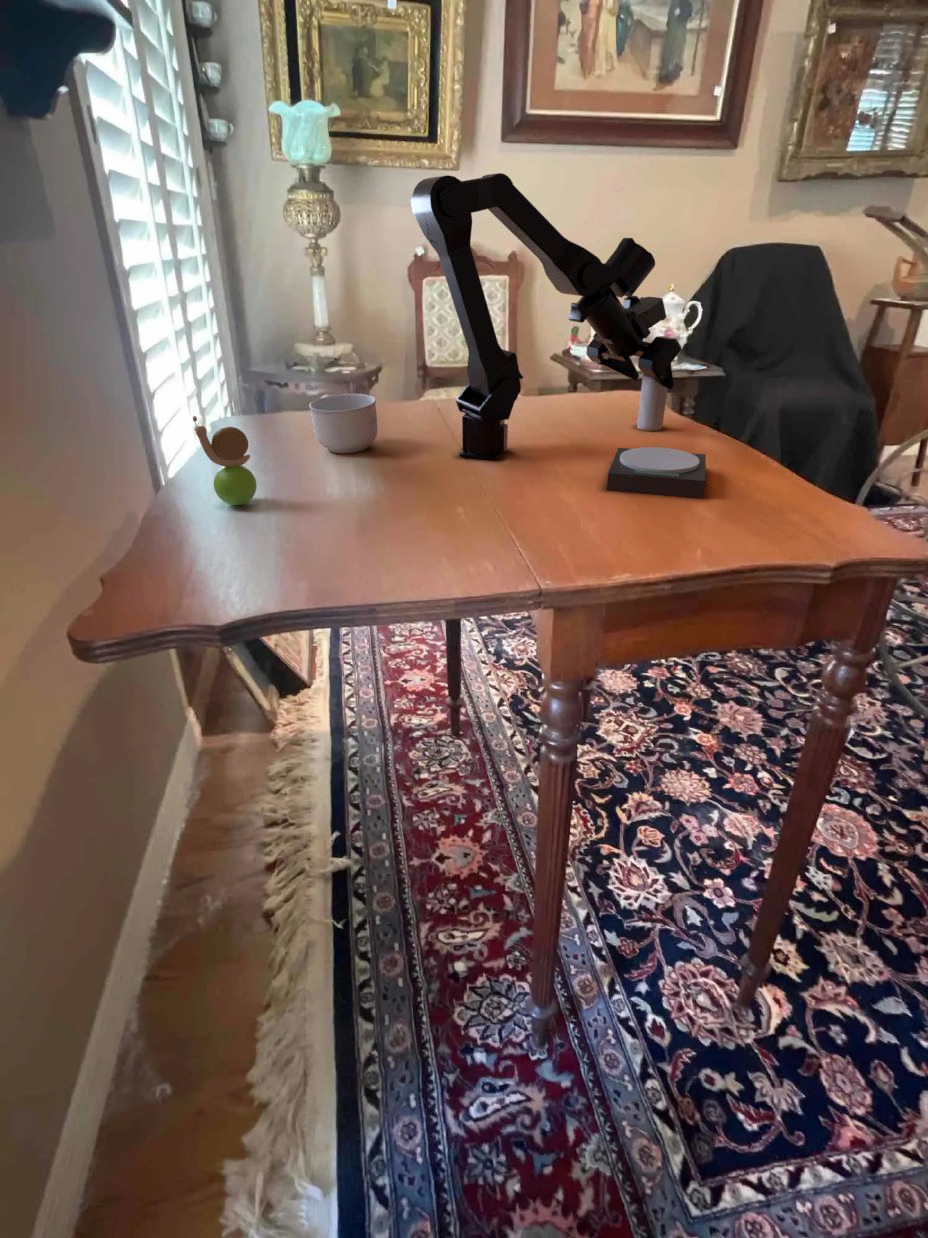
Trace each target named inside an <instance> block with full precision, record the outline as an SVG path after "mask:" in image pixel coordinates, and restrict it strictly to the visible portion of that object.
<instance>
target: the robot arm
mask: <svg viewBox="0 0 928 1238" xmlns="http://www.w3.org/2000/svg"><path fill="white" fill-rule="evenodd" d="M410 206H411V211H412V213H413V216H414V218H415V220H416V222H417V224H418V226H419V228H420V230H421V232H422V235H423V236H424V237H425V238H426V240H427V242H429V244H430V246H431V247H432V248H433V249H434V251H435V252H436V254H437V256H438V258H439V261H440V264H441V267H442V271H443V274H444V277H445V281H446V284H447V287H448V289H449V293H450V296H451V299H452V303H453V306H454V310H455V312H456V316H457V318H458V322H459V325H460V328H461V331H462V335H463V337H464V340H465V344H466V347H467V351H468V354H467V355H468V356H467V366H466V371H467V372H466V373H467V379H468V384H467V385H466V386H465V387H464V388H463V390H462V391H461V392H460V394H459V395H458V396H457V397H456V398H455V403H456V406H457V409H458V411H459V412H460V413H464V414H463V415H462V416H461V423H462V424H461V427H462V430H461V431H462V434H461V435H462V439H461V440H462V449H461V451H460V452H459V453H458V454H459V455H458V456H459V457H461V458H469V459H470V458H471V459H482V460H495V461H496V460H499V459H500V458H501V457H502V456H503V454H504V453H505V452H506V451H507V449H508V433H509V431H508V429H509V424H507V423H505V421H506V420H507V421H508V420H509V419H510V417H511V414H512V410H513V408H514V405H515V402H516V401H517V400H518V397H519V395H520V393H521V392H522V384H521V380H523V379H524V376H523V374H522V373H521V372H520V369H519V363H518V357H517V354H516V352H513V351H509V350H506V349H503V348H502V347H501V345H500V343H499V341H498V337H497V334H496V330H495V327H494V323H493V319H492V317H491V312H490V309H489V307H488V302H487V299H486V296H485V292H484V289H483V285H482V281H481V278H480V274H479V271H478V267H477V264H476V261H475V257H474V253H473V250H472V245H471V244H472V243H471V240H472V229H473V216H472V213H476V212H477V213H479V212H482V211H485V210H488V211H489V212H490V213H491V214H492V215H493V216H494V217H495V218H496V219H497V220H498V221H499V223H500V222H501V224H502V225H503V226H504V227H505V228H506V229H507V230H508V231H509V232H510V233H511V234H512V235H513V236H514V237H516V238H517V240H519V242H521V243H522V244H523V245H524V246H525V247H526V248H527V249H528V250H529V251H530V252H531V253H532V254H533V255H534V256H535V257H536V258H537V259H538V260H539V262H540V263H541V265H542V267H543V271H544V273H545V276H546V277H547V279H548V280H549V282H550V283H551V284H552V286H553V287H554V288H555V290H556V291H557V292H559V293H560V294H564V295H569V296H578V297H580V299H579V300H578V301H577V302H572V303H570V310H569V314H568V320H569V321H570V322H576V323H580V324H582V323H585V321H586V322H587V323H588V324H589V326H590V327H591V329H592V330H593V331H594V332H595V333H594V334H593V335H592V340H591V341H590V342H589V343H588V345H587V346H586V353H585V354H586V356H587V357H588V359H589V360H590V361H591V362H593V363H596V364H597V365H598V366H602V367H603V368H606V369H608V370H610V371H612V372H615V373H617V374H619V375H621V376H624V377H625V378H628V379H630V380H632V381H637V380H638V379H639V377H640V374H639V372H638V370H637V368H638V369H639V370H640V372H642V374H643V373H644V376H646V377H647V378H649V379H651V380H653V381H654V382H656V383H658V384H660V385H661V386H663V387H665V388H667V390H668V391H670V390H672V389H673V387H674V386H675V382H674V376H673V369H672V363H673V361H674V360H675V359H676V358H677V356H678V355H679V354H680V352H681V351H682V345H681V343H679V341H678V339H677V338H675V337H669V336H663V335H661V336H659V335H658V336H655V337H654V338H653V340H652V341H651V342H647V341H644V339H647V338H648V337H649V336H650V334H651V333H652V332H651V330H650V328H653V327H654V326H655V325H656V324H658V323H660V322H661V321H662V322H663V321H664V320H666V318H667V313H666V308H665V304H664V303H665V302H664V298H663V297H656V296H645V297H644V296H641V297H638V296H637V295H634V294H635V293H636V291H637V290H638V288H639V287H640V286H641V285H642V283H643V282H644V281H645V280H646V278H647V277H648V276H649V275H650V273H651V272H652V271H653V270H654V268H655V266H656V260H655V257H654V256H653V254H652V252H650V251H649V250H647V249H646V248H645V247H644V246H642V245H641V244H639V243H637V242H636V241H635V239H634V238H633V237H623V238H622V239H621V240H620V242H619V243H618V245H617V247H616V248H615V250H614V252H613V253H612V254H611V255H610V257H608V259H607V260H606V262H604V263H603V262H602V260H601V259H600V258H599V257H598V256H597V255H595V254H594V253H593V252H591V251H589V250H588V249H586V248H585V247H583V246H581V245H579V244H577V243H576V242H572V240H569V239H568V238H566V237H565V236H563V234H562V233H561V232H560V231H559V230H558V229H557V228H556V227H555V226H554V225H553V224H552V223H551V222H550V221H549V220H548V219H547V218H546V216H545V215H543V213H541V212H540V210H538V208H536V206H535V205H534V204H533V203H532V202H531V201H529V199H528V198H527V196H525V195H524V194H523V193H522V191H520V190H519V189H518V188H517V187H516V186H515V184H514V182H513V181H512V179H511V178H510V177H509V176H508V175H507V174H505V173H502V172H497V173H489V174H485V175H482V176H481V177H479V178H473V179H467V180H460V179H459V178H458V177H456V176H453V175H448V174H447V175H442V176H434V177H428V178H423V179H422V180H421V181H419V182H417V184H416V186H415V187H414V189H413V192H412V195H411V196H410ZM624 297H625V298H624ZM619 298H624V299H623V304H622V302H621V301H620V299H619ZM633 356H635V357H638V361H637V368H636V366H635V365H634V362H633V361H632V358H631V357H633Z"/></svg>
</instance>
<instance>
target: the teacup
mask: <svg viewBox="0 0 928 1238" xmlns="http://www.w3.org/2000/svg"><path fill="white" fill-rule="evenodd" d="M376 403H377V400H376V398H375V396H372V395H370V394H365V393H340V394H333V395H330V394H323V395H321V397H319V398H317V399H314V400H313V401H311V402H310V403H309V406H308V407H309V411H310V415H311V421H312V426H313V430H314V435H315V438H316V440H317V442H318V443H319V444H320V445H321V446H322V447H324V448H325V449H327V450H328V451H330V452H332V453H335V454H353V453H358V452H362V451H363V450H364V451H365V450H366V449H367V448H368V447H369V446H370V445H371V443H373V442H374V441H375V439H376V438H377V435H378V416H377V406H376Z"/></svg>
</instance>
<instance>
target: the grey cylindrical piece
mask: <svg viewBox="0 0 928 1238" xmlns="http://www.w3.org/2000/svg"><path fill="white" fill-rule="evenodd" d="M667 395H668V389H667V388H665V387H663V386H661V385H660V384H658V383H656V382H654V381H653V380H651V379H649V378H647V377H646V376H644V373H643V372H642V380H641V388H640V396H639V406H638V414H637V422H636V428H637V429H638V430H641V431H647V432H657V431H661V430H662V429H663V425H664V417H665V411H666V404H667Z"/></svg>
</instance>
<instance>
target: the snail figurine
mask: <svg viewBox="0 0 928 1238" xmlns="http://www.w3.org/2000/svg"><path fill="white" fill-rule="evenodd" d="M192 421H193V423H194V425H195V427H194V432H195V435H196V436H197V438H198V440H199V443H200V445H201V448H202V450H203V451H204V454H205V455H206V456H207V458H208V459H209V460H210V461H211V462H212V463H214V464H216V465H218V466H221V468H219V470H217V472H216V474H215V475H214V478H213V488H214V489H213V490H214V492H215V493H216V496H217V498H219V499H220V500H221V501H222V502H223V503H225V504H227V505H231V506H243V505H245V504H247V503H249V502H250V501H251V500H252V499H253V497H254V496H255V494H256V492H257V480H256V477H255V475H254V473H253V472H252V471H251V470H250V469H249V468H248V467H246V466H244V464H246V463H247V462H249V459H250V458H251V454H246V453H247V452H248V449H249V440H248V437H247V435H246V434H245V432H243V431H242V429H239V428H238V427H234V426H223V427H220V428H219V429H217V430H216V431H215V432H214V434H213V435H212V438H211V441H210V440H209V437H208V431H207V428H206V427H205V426H204V425H202V424H199V425H197V423H196V422H198V417H197V416H196V415H193V416H192Z"/></svg>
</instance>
